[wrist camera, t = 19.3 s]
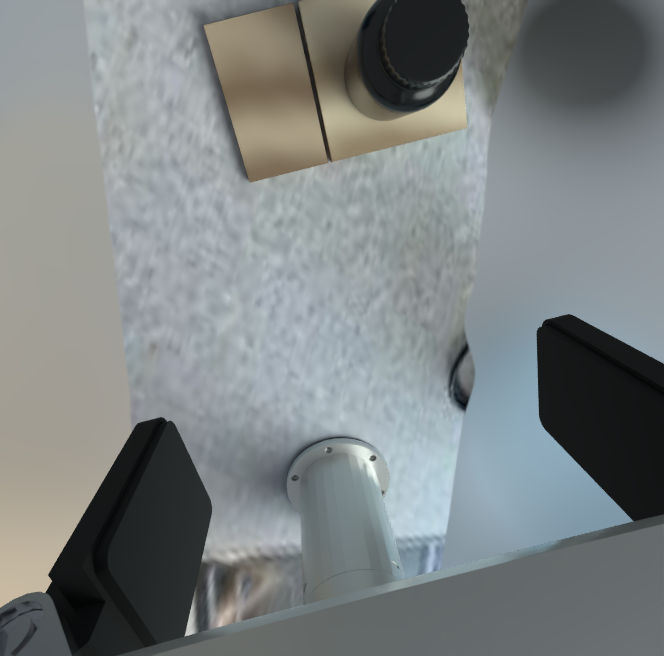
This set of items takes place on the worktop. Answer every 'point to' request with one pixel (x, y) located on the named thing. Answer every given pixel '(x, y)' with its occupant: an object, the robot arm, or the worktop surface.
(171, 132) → the worktop surface
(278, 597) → the worktop surface
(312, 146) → the laid board
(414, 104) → the supplement bottle
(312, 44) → the plank
